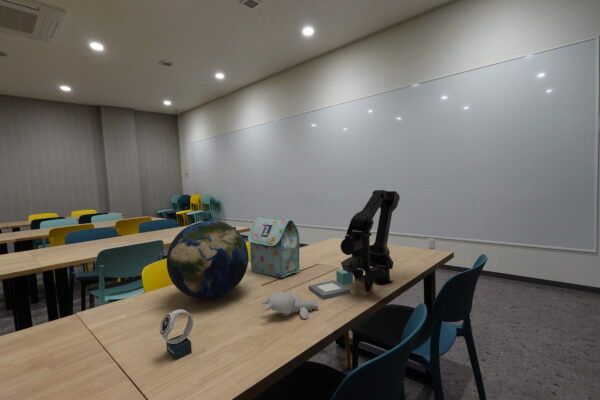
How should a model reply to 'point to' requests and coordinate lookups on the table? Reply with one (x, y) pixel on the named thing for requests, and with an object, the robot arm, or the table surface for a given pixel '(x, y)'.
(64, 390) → the table surface
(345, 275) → the teal block
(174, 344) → the watch
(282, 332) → the table surface
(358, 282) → the walnut block
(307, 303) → the toy creature
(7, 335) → the table surface
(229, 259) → the globe
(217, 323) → the table surface
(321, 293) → the baseplate
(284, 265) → the lunch bag
